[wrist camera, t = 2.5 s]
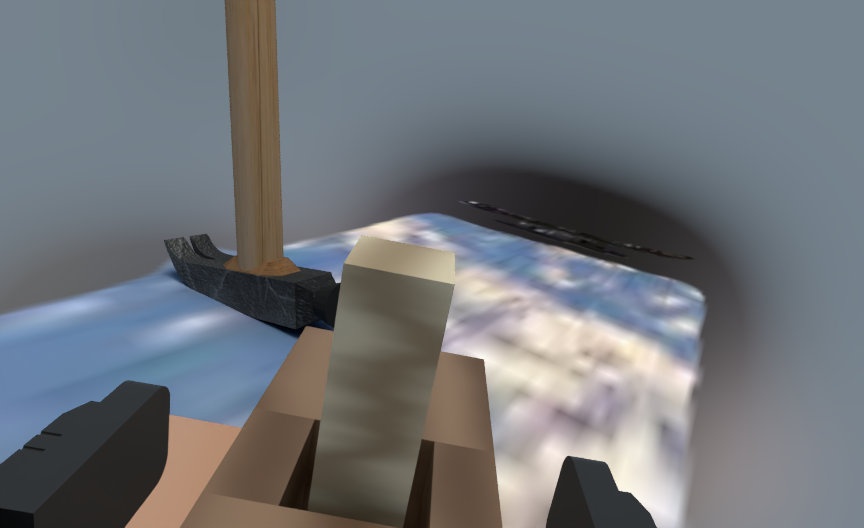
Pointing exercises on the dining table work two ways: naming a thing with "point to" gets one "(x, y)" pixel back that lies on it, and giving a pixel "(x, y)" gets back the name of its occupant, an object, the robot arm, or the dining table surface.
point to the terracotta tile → (184, 471)
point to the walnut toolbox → (297, 441)
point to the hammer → (255, 193)
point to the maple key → (380, 379)
